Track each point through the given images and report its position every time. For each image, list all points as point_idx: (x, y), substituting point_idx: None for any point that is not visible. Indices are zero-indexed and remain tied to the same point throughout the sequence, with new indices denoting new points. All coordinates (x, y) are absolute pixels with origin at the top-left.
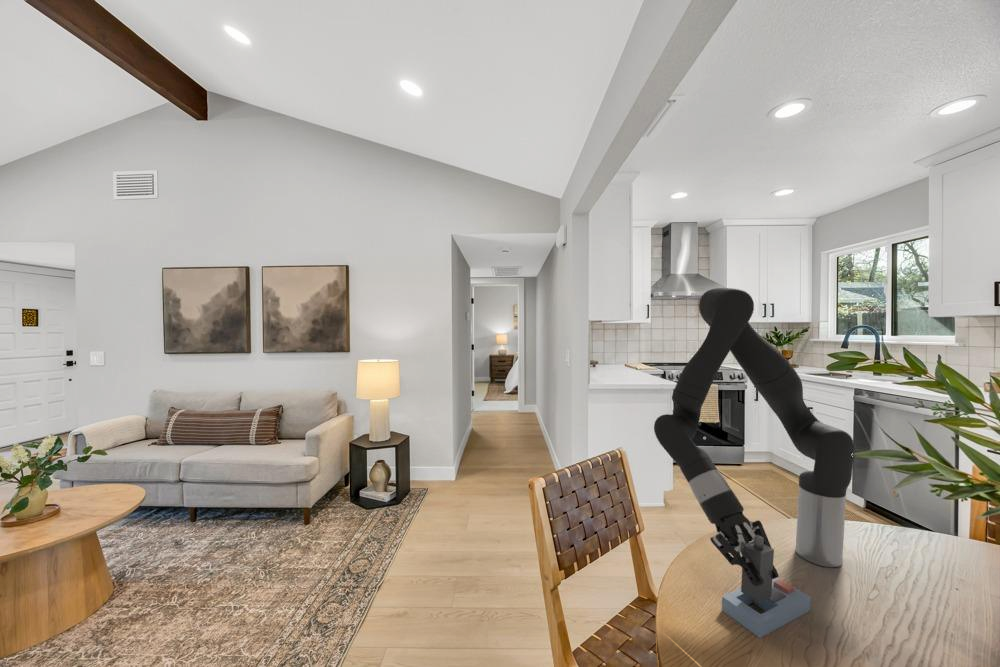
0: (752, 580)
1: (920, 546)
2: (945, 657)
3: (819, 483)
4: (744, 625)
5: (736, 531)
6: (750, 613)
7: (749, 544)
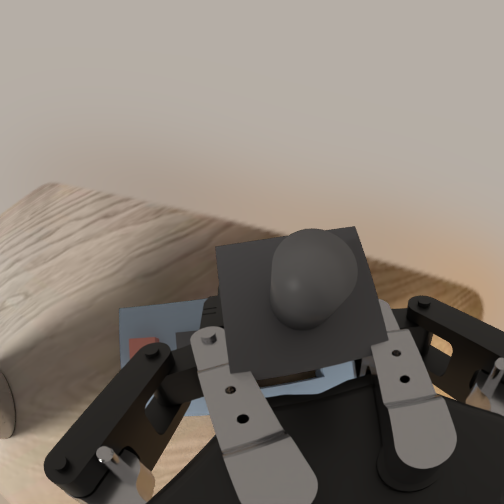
0: None
1: None
2: (78, 188)
3: None
4: None
5: (445, 410)
6: None
7: (345, 342)
